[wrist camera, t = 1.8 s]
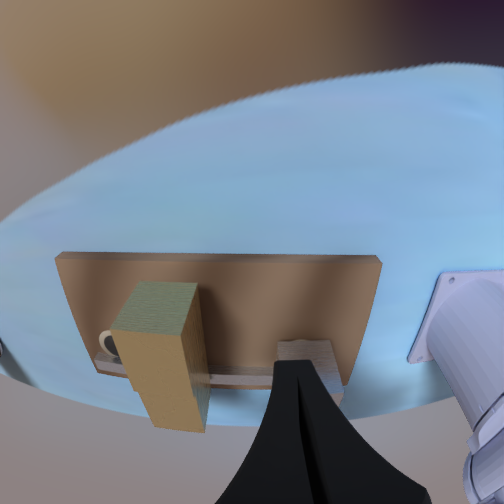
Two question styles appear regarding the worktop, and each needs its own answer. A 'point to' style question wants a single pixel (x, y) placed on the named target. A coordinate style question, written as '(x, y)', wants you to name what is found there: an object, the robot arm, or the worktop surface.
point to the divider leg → (166, 353)
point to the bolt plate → (233, 301)
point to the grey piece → (247, 375)
